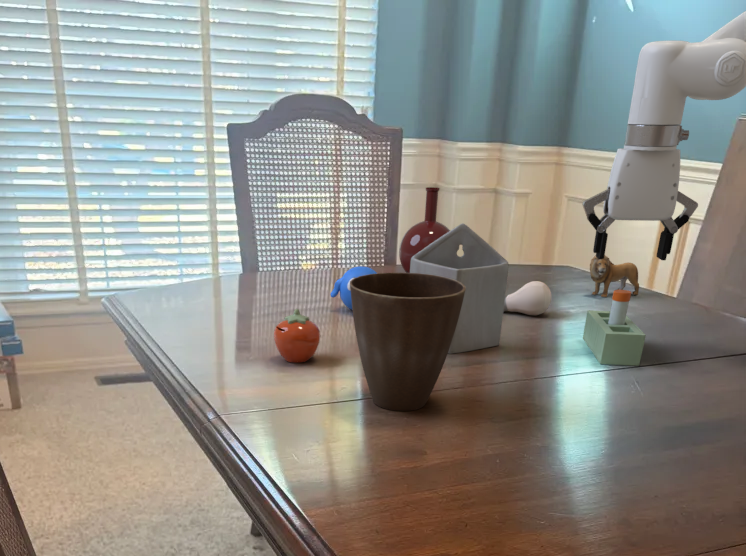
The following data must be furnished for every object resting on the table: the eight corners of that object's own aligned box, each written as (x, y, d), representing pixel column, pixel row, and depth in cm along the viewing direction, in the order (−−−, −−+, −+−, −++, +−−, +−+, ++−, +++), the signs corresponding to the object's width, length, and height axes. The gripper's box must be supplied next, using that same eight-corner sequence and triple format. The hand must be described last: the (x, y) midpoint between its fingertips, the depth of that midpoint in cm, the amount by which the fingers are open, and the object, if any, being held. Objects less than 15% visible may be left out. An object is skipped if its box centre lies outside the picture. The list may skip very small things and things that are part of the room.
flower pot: (476, 404, 107) (489, 285, 99) (404, 430, 98) (413, 302, 90) (396, 378, 116) (402, 268, 108) (324, 400, 107) (325, 281, 99)
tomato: (268, 355, 126) (267, 305, 122) (311, 351, 128) (311, 302, 124) (281, 368, 120) (280, 316, 116) (326, 363, 122) (327, 312, 118)
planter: (401, 350, 129) (408, 227, 120) (405, 338, 136) (413, 220, 126) (499, 357, 127) (514, 232, 117) (499, 344, 134) (513, 225, 124)
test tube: (617, 349, 133) (629, 289, 128) (621, 354, 130) (633, 293, 125) (600, 348, 133) (612, 289, 128) (604, 353, 130) (615, 292, 125)
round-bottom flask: (391, 276, 184) (396, 185, 174) (444, 275, 186) (452, 185, 176) (405, 288, 173) (411, 191, 163) (461, 287, 175) (470, 191, 165)
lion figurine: (595, 300, 166) (603, 256, 162) (578, 295, 170) (585, 252, 166) (645, 294, 172) (654, 252, 167) (627, 289, 176) (635, 248, 172)
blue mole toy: (330, 320, 146) (331, 274, 142) (329, 305, 157) (330, 262, 152) (393, 320, 147) (396, 275, 143) (388, 306, 157) (390, 263, 153)
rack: (582, 338, 138) (587, 310, 136) (617, 339, 138) (623, 311, 136) (600, 364, 125) (606, 333, 122) (639, 365, 124) (645, 335, 122)
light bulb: (490, 288, 151) (547, 277, 147) (496, 289, 157) (551, 278, 153) (494, 323, 153) (551, 312, 148) (500, 322, 158) (555, 312, 154)
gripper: (702, 138, 118) (678, 255, 126) (587, 137, 119) (571, 253, 128) (719, 140, 112) (692, 263, 120) (597, 139, 113) (579, 261, 121)
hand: (630, 258), depth 124 cm, fingers open, 9 cm apart
